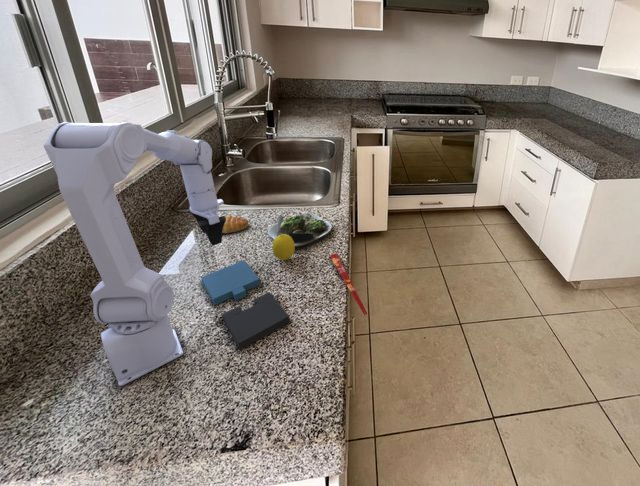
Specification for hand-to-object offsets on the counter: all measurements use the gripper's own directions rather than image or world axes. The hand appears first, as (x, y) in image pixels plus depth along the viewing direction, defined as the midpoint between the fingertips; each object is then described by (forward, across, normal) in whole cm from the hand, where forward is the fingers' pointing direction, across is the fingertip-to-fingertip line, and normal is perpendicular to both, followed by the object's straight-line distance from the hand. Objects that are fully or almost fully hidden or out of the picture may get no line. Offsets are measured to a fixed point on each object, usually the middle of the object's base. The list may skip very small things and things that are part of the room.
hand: (212, 237), depth 87 cm
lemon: (+9, -10, -14) cm, 19 cm away
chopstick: (+8, -29, -21) cm, 37 cm away
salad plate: (+9, -1, -22) cm, 24 cm away
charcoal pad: (+8, -26, 0) cm, 27 cm away
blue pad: (+8, -10, 0) cm, 13 cm away
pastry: (+9, +17, -8) cm, 21 cm away
